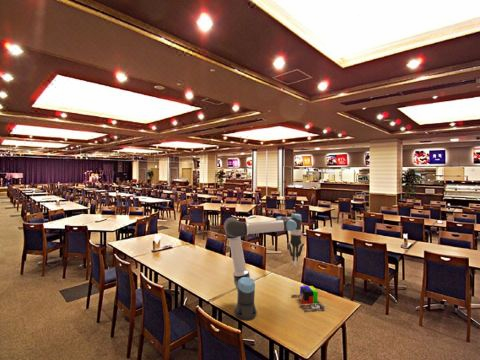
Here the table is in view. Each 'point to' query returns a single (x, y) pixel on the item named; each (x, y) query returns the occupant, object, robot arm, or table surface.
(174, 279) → the table surface
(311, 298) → the puzzle toy
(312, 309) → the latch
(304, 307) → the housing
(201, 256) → the table surface
